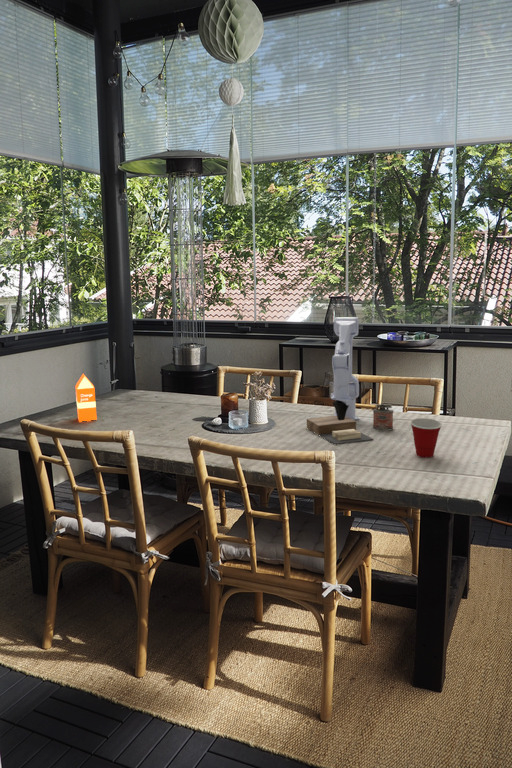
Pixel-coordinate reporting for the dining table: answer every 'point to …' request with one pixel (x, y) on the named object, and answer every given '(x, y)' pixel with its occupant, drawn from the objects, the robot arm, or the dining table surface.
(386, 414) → the lighter
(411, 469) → the dining table surface
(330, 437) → the rubber mat
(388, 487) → the dining table surface
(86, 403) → the orange juice
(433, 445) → the plastic cup
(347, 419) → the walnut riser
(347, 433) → the birch tile
